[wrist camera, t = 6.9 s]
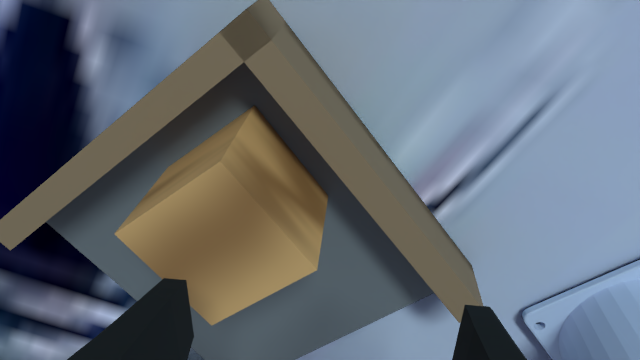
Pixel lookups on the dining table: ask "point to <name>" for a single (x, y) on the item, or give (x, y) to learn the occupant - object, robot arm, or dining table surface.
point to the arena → (313, 152)
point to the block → (231, 219)
